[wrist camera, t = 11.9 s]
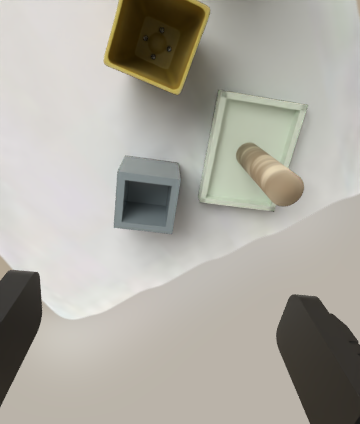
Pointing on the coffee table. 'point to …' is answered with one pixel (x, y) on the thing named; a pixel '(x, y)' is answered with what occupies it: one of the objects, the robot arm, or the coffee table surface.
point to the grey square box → (146, 194)
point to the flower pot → (156, 40)
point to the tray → (240, 134)
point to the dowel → (270, 175)
